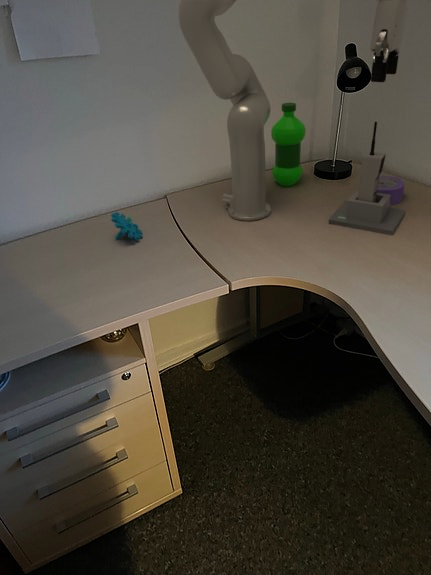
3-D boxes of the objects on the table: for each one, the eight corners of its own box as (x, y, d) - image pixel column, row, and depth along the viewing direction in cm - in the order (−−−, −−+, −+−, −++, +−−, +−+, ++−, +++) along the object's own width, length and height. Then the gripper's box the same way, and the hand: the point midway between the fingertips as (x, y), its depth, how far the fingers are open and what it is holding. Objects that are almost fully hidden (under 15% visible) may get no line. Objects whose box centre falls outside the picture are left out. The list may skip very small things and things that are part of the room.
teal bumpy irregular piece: (140, 241, 123) (110, 216, 121) (127, 256, 125) (96, 233, 123) (147, 227, 133) (118, 205, 130) (134, 242, 135) (106, 220, 132)
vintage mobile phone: (373, 218, 126) (386, 124, 112) (355, 215, 128) (365, 122, 114) (377, 213, 128) (390, 120, 115) (359, 210, 131) (370, 119, 117)
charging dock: (328, 223, 128) (330, 202, 125) (344, 204, 138) (346, 184, 134) (391, 235, 120) (395, 213, 117) (404, 213, 130) (408, 192, 127)
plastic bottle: (305, 178, 157) (309, 100, 143) (298, 190, 149) (301, 108, 135) (276, 176, 160) (277, 100, 146) (268, 187, 152) (268, 108, 138)
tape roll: (355, 202, 139) (357, 186, 136) (367, 188, 147) (369, 172, 144) (396, 208, 133) (399, 192, 131) (406, 193, 142) (409, 178, 139)
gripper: (387, -11, 107) (377, 70, 117) (365, -6, 95) (356, 84, 105) (422, -12, 104) (408, 71, 113) (403, -7, 92) (390, 86, 101)
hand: (383, 77), depth 109 cm, fingers open, 9 cm apart
